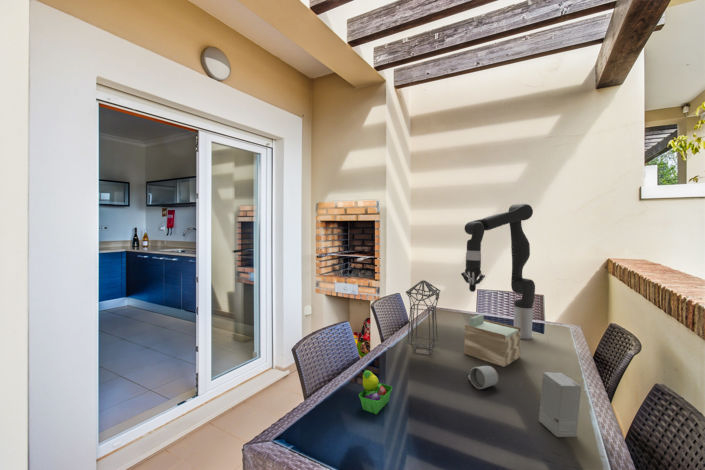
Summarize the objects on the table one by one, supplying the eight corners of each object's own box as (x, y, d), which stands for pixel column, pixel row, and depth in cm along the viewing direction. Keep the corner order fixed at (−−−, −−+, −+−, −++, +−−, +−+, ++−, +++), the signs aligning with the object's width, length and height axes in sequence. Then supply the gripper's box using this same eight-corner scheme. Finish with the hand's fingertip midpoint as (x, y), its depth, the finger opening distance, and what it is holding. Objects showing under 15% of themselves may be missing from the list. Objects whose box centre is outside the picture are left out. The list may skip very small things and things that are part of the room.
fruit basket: (378, 417, 99) (378, 382, 99) (354, 409, 104) (354, 375, 104) (393, 401, 109) (393, 369, 109) (370, 394, 114) (371, 363, 114)
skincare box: (537, 421, 99) (539, 371, 99) (559, 420, 100) (560, 370, 99) (557, 439, 91) (559, 384, 90) (580, 438, 91) (582, 384, 91)
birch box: (481, 345, 163) (481, 318, 163) (519, 357, 149) (520, 327, 149) (464, 353, 152) (465, 324, 152) (504, 366, 138) (505, 335, 138)
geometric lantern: (403, 354, 151) (404, 281, 151) (410, 344, 165) (411, 277, 166) (437, 359, 145) (438, 283, 145) (441, 348, 159) (441, 279, 160)
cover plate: (481, 323, 162) (482, 313, 162) (518, 332, 149) (518, 321, 149) (466, 329, 152) (466, 318, 152) (504, 339, 139) (504, 328, 139)
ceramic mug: (499, 387, 120) (499, 367, 120) (485, 392, 116) (485, 372, 116) (477, 376, 129) (477, 358, 129) (462, 380, 125) (462, 361, 125)
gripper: (488, 259, 164) (487, 292, 165) (465, 257, 174) (464, 288, 175) (481, 260, 160) (480, 294, 160) (458, 258, 170) (457, 290, 170)
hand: (472, 291), depth 167 cm, fingers closed
